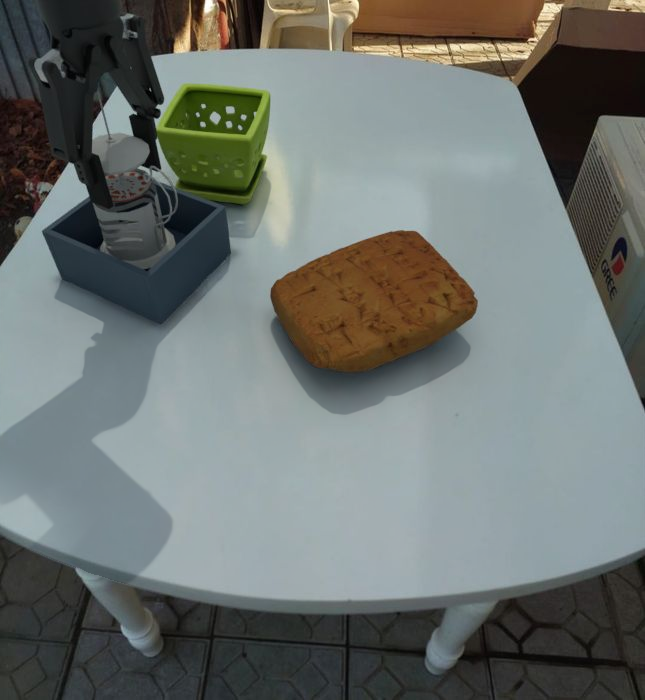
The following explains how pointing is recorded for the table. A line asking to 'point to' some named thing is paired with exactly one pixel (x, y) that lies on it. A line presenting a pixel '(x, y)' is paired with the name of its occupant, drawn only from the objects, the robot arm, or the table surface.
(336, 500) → the table surface
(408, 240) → the inscribed clay slab
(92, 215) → the tub
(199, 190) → the flower pot
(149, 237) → the french press
